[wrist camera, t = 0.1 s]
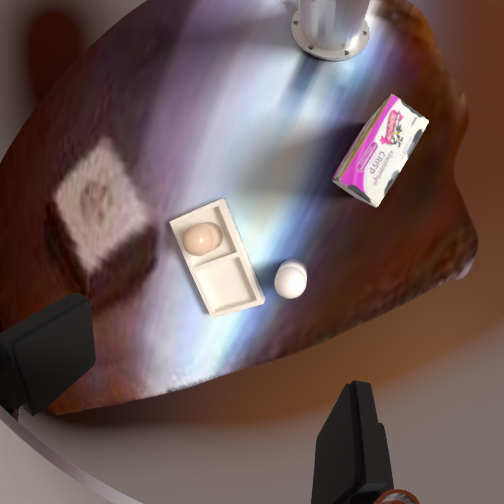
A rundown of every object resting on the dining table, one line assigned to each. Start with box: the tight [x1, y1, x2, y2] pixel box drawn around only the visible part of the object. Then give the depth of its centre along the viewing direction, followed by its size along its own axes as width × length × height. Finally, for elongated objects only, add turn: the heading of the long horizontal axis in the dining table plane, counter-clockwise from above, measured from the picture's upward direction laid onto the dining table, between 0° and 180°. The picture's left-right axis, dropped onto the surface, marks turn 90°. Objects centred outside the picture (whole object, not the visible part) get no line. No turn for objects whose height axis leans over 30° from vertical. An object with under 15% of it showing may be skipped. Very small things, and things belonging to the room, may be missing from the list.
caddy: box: [170, 198, 266, 318], centre depth 47 cm, size 18×10×2 cm, turn 22°
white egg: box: [274, 259, 307, 299], centre depth 43 cm, size 5×5×7 cm
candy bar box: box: [331, 94, 429, 207], centre depth 32 cm, size 11×5×16 cm, turn 148°
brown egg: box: [182, 222, 223, 256], centre depth 44 cm, size 5×5×7 cm
